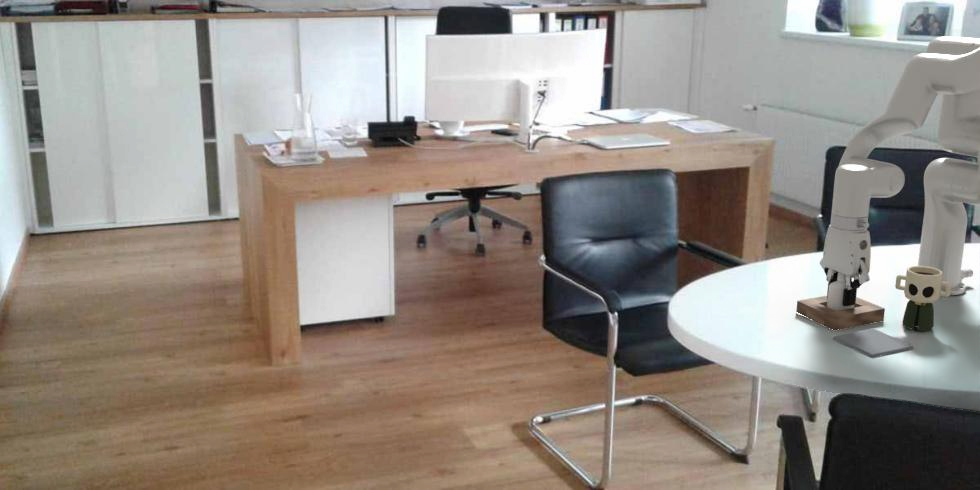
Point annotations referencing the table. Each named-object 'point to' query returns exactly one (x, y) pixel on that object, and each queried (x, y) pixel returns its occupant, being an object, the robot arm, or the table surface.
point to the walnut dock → (840, 313)
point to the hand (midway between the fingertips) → (840, 301)
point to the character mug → (921, 295)
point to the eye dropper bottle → (837, 294)
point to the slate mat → (872, 342)
